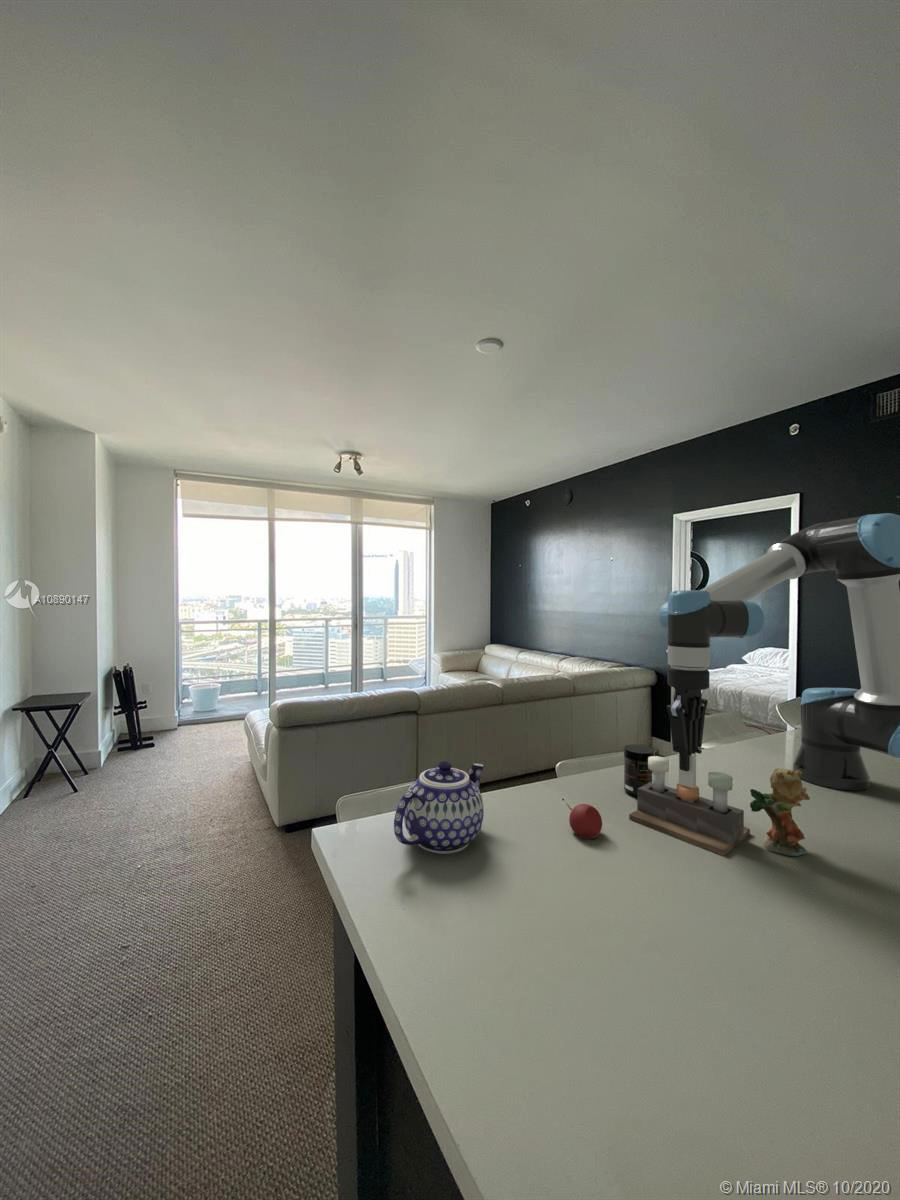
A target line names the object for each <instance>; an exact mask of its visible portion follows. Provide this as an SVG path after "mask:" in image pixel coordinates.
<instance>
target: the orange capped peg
mask: <svg viewBox="0 0 900 1200" xmlns="http://www.w3.org/2000/svg"><path fill="white" fill-rule="evenodd" d="M676 789H677V796H678V797H679V798H681V800H683V801H686V802H689V803H692V804H693V803H694V802H695V801H697V800H699V796H700V788H699V786H697V785H696V787H695V788H693V789H692V788H689V787H686V786H683V785H679V782H677V783H676Z"/></svg>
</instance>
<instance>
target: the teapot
mask: <svg viewBox="0 0 900 1200" xmlns="http://www.w3.org/2000/svg"><path fill="white" fill-rule="evenodd" d="M484 767H485V765H483V764H482V763H472V764H471V766H470V768H469V771H468V773H467V772H466V771H464V770H462V769H458V768H455V767H453V764H452V763H451V761H447V760H443V761H439V762H438V764H437V767H435V768H433V767H432V768H429V769H426V770H424V771H422V772H421V773H420V774H419V776H418V778H417V779H416V780H415V781H414V782H413V783H412V784H411V785H410V786H409V788H408V789H407V791H406V792H405V793H404V794H403V795H402V796H401V798H400V800H399V803H398V805H397V808H396V810H395V815H394V819H393V832H394V836H395V838H396V840H398V842H399V843H401V844H402V845H405V846H414V845H418V846H419V847H420V848H421V849H423V850H424V851H426V852H430V853H433V854H439V855H451V854H455V853H459V852H461V851H463V850H465V849H466V848H467V847H468V845H469V844H470V843H472V842H473V841H474V840H475V839H476V838H477V836H478V835H479V834H480V831H481V829H482V827H483V826H482V825H483V821H484V802H483V801H484V800H483V797H482V793H481V791H480V782H481V775H482V772H483V769H484ZM403 823H404V825H405V826H404V827H405V828H406V831H407V833H408V835H409V836H410V837H409V838H406V837H405V836H404V831H403Z"/></svg>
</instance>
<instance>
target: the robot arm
mask: <svg viewBox="0 0 900 1200" xmlns="http://www.w3.org/2000/svg"><path fill="white" fill-rule="evenodd" d="M826 571H834V572H835V574H836V581H838V582H840V583H841V584H843V585H844V586H845V587H846V591H847V598H848V604H849V610H850V618H851V626H852V632H853V637H854V639H853V640H854V645H855V652H856V661H857V667H858V668H857V669H858V672H859V673H858V675H859V681H860V689H857V688H849V687H810V688H809V687H808V688H806V689H804V690H803V691H802V693H801V703H800V713H801V714H800V727H801V728H800V729H801V730H800V731H801V732H800V733H801V734H800V737H801V741H800V742H801V744H800V746H799V749H798V751H797V754H796V756H795V759H794V761H793V763H792V771H797V770H800V771H801V772H802V774H801V776H800V778H801V780H803V781H806V782H808V783H811V784H814V785H816V786H817V785H818V786H821V787H825V788H829V789H830V788H831V789H836V790H843V791H865V790H868V789H870V787H871V785H870V783H871V779H870V775H869V772H868V770H867V767H866V765H865V763H864V759H863V756H862V755H861V748H863V749H867V750H871V751H874V752H877V753H881V754H884V755H888V756H890V757H893V758H896V759H899V758H900V585H899V582H900V515H899V514H895V513H890V512H886V513H876V514H875V513H873V514H865V515H862V516H861V515H860V516H856V517H850V518H843V519H838V520H837V519H836V520H832V521H824V522H819V523H815V524H812V525H811V526H808V527H805V528H803V529H801V530H799V531H798V532H794V533H793V534H790V535H789V536H787V537H786V538H783V539H781V540H780V541H778V542H777V543H775V544H773V545H771V546H770V547H769V548H768V549H767V551H766V553H764V554H763V555H761V556H760V557H758V558H756V559H755V560H752V561H750V562H748V563H747V564H745V565H743V566H742V567H740V568H738V569H736V570H734V571H732V572H731V573H728V574H727V575H725V576H723V577H721V578H720V579H718V580H716V581H714V582H712V583H710V584H709V585H707V586H705V587H703V588H701V589H699V590H691V589H690V590H688V589H687V590H673V591H671V592H670V593H669V594H668V599H667V601H666V602H664V603H663V604H662V605H661V607H660V608H659V612H658V620H659V623H660V625H661V627H663V629H665V630H667V649H666V651H665V652H666V654H667V664H668V665H669V667H668V668H667V677H666V678H667V680H666V682H667V685H668V686H669V687H672V688H674V694H673V704H672V705H671V704H668V705H666V710H667V714H668V716H669V717H668V718H669V725H670V733H671V744H672V750H673V752H674V753H678V783H679V785H683V786H686V787H689V788H692V789H693V788H695V787H696V786H697V754H702V753H703V752H702V751H703V750H702V749H701V748H702V745H703V736H704V729H705V727H704V725H705V716H706V709H707V705H708V699H707V698H703V695H702V693H703V692H702V691H703V690H707V689H709V688H710V677H711V676H710V672H711V671H709V669H708V668H709V667H711V649H710V648H711V647H710V645H711V638H740V639H743V638H747V637H754V636H756V635H758V634H759V633H760V632H761V631H762V630H763V628H764V626H765V613H764V612H763V611H764V610H763V609H762V608H761V606H760V605H759V604H757V603H755V602H754V601H750V600H752V599H754V598H755V597H757V596H759V595H761V594H762V593H764V592H766V591H768V590H769V589H772V588H773V587H775V586H777V585H778V584H781V583H782V582H783V581H785V580H795V579H798V578H800V577H802V576H803V575H806V574H810V573H817V572H826Z"/></svg>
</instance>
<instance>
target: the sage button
mask: <svg viewBox="0 0 900 1200" xmlns="http://www.w3.org/2000/svg"><path fill="white" fill-rule="evenodd" d="M707 776H708V777H707V784H708V787H709V788H712V801H713V810H714V811H717V812H720V813H727V805H728V794H729V793H728V792H729V791H732V790H733V776H731V775H730V774H727V773H723V772H717V771H711V772H708V775H707Z"/></svg>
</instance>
